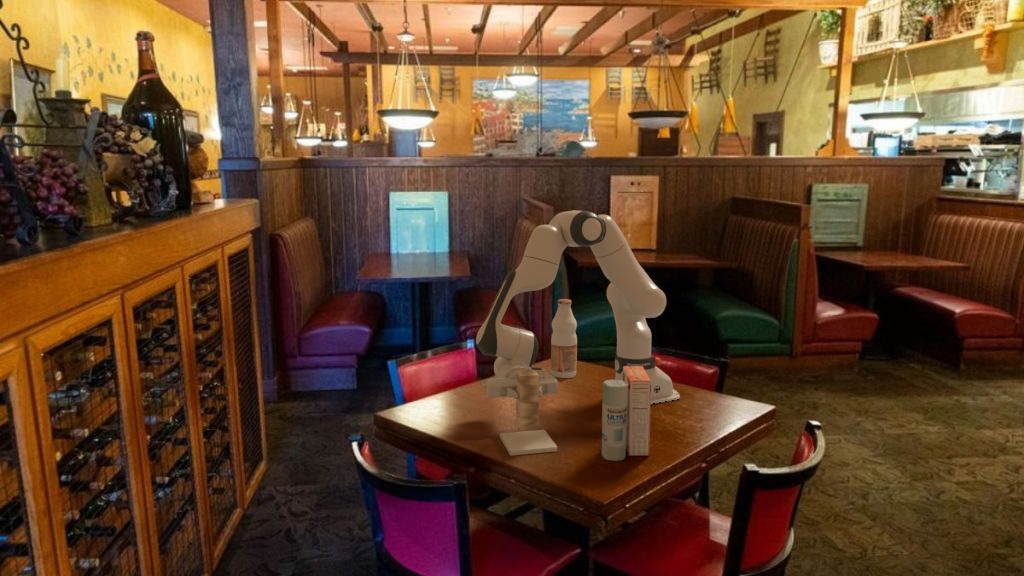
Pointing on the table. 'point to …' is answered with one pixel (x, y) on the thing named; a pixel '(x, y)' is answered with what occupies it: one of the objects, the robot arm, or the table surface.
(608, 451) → the spray paint can
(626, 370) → the cracker box
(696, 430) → the table surface
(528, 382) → the beech block
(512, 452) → the board
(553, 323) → the fruit juice
